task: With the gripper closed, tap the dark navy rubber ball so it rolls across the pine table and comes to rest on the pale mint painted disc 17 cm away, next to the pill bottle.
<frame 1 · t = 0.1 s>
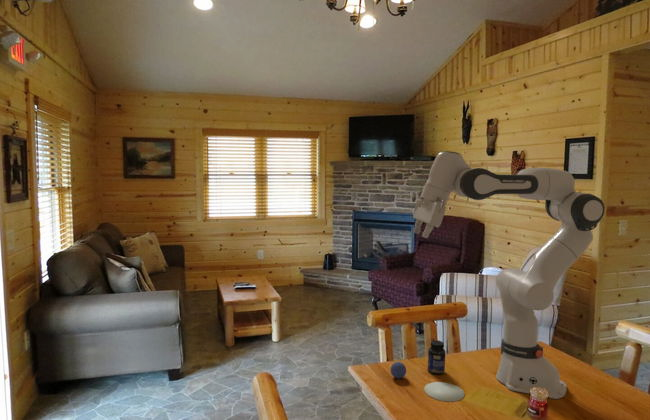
hand: (420, 235, 153), 52 cm above the table, tool tilted 20°, fingers open, 8 cm apart
ball: (398, 370, 162), on the table
pill bottle: (436, 372, 167), on the table
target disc: (444, 391, 152), on the table
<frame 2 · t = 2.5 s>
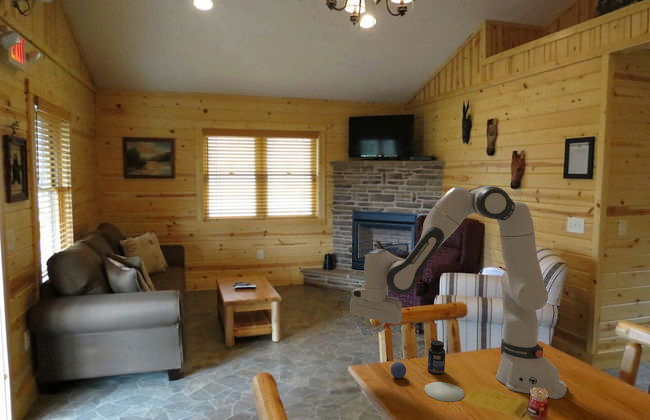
hand: (374, 330, 166), 15 cm above the table, tool pointing down, fingers open, 3 cm apart
nothing on the table moved.
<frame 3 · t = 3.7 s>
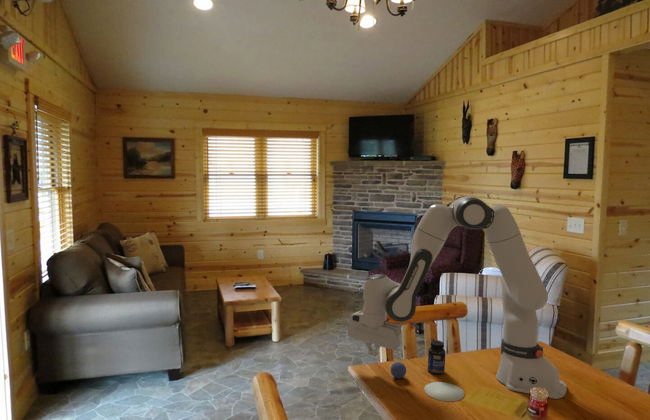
hand: (372, 354, 167), 6 cm above the table, tool pointing down, fingers closed
nothing on the table moved.
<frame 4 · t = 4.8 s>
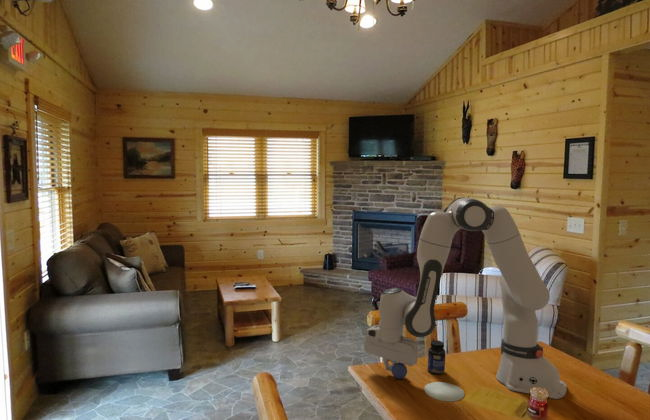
hand: (389, 370, 164), 2 cm above the table, tool pointing down, fingers closed
ball: (399, 370, 161), on the table, touching gripper
everything else where it was.
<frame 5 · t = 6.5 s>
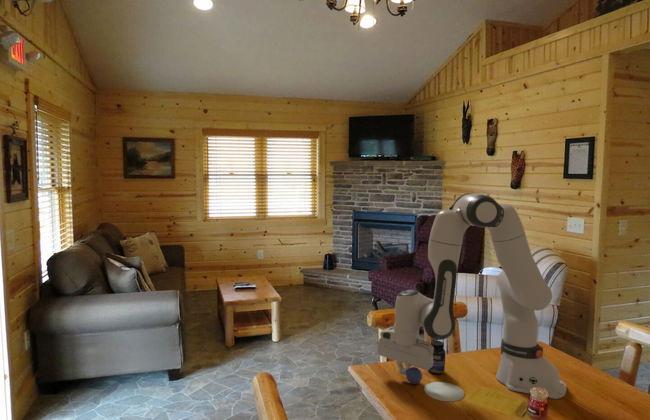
hand: (403, 373, 160), 2 cm above the table, tool pointing down, fingers closed
ball: (414, 375, 158), on the table, touching gripper
everything else where it was.
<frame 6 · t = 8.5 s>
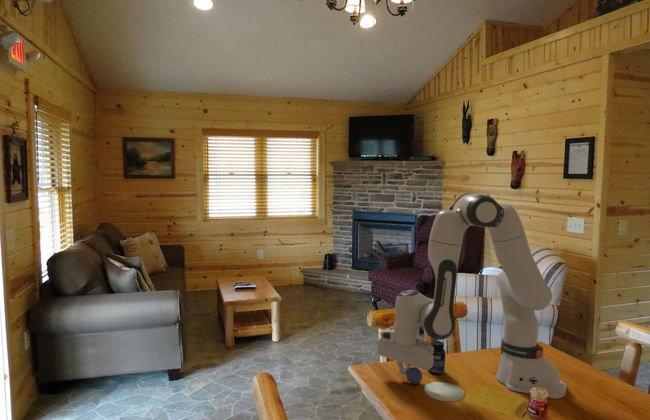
hand: (403, 373, 160), 2 cm above the table, tool pointing down, fingers closed
nothing on the table moved.
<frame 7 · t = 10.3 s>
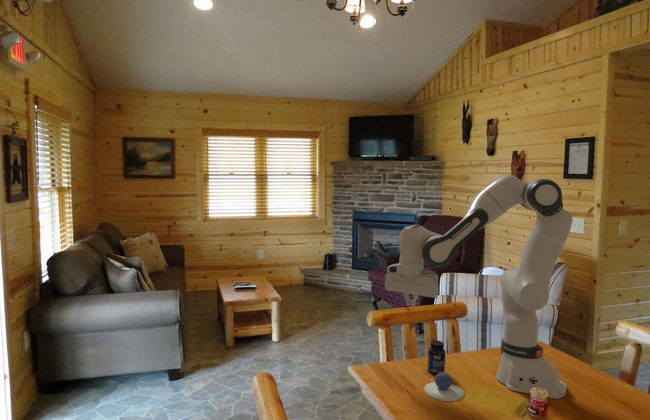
hand: (410, 305, 169), 24 cm above the table, tool pointing down, fingers closed
ball: (443, 380, 154), on the table
everything else where it was.
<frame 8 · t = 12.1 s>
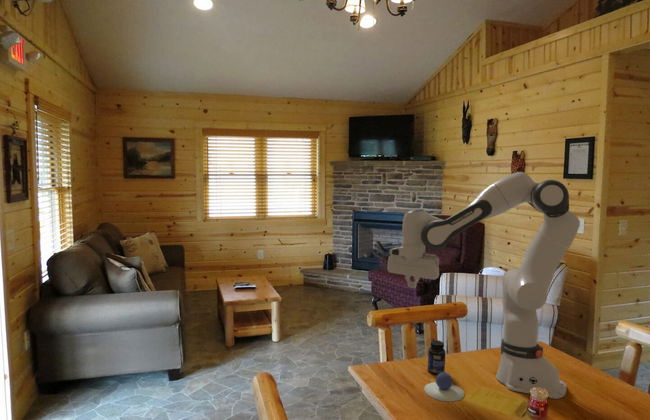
hand: (412, 287, 174), 29 cm above the table, tool pointing down, fingers closed
nothing on the table moved.
at the end: ball 2.1 cm from the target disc (horizontally); ball at rest at the end (0.0 cm/s); ball moved 16.3 cm from its start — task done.
